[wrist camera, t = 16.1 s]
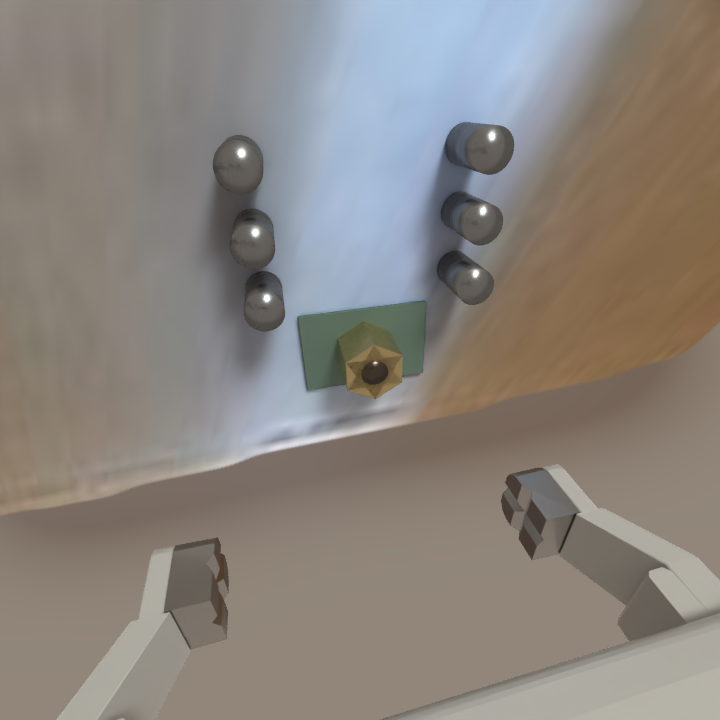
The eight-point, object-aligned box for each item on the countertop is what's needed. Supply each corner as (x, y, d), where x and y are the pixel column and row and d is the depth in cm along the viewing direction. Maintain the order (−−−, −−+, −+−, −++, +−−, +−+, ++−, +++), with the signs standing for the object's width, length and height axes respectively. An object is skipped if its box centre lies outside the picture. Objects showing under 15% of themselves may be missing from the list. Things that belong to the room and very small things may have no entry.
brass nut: (340, 375, 41) (348, 403, 37) (336, 324, 38) (344, 349, 34) (389, 368, 42) (401, 395, 38) (389, 317, 39) (403, 341, 35)
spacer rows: (249, 306, 36) (247, 333, 32) (215, 136, 29) (207, 142, 24) (466, 281, 39) (491, 302, 34) (483, 121, 32) (517, 124, 27)
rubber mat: (307, 387, 41) (307, 390, 41) (297, 316, 37) (298, 318, 37) (421, 370, 43) (422, 372, 43) (425, 300, 39) (426, 302, 38)
